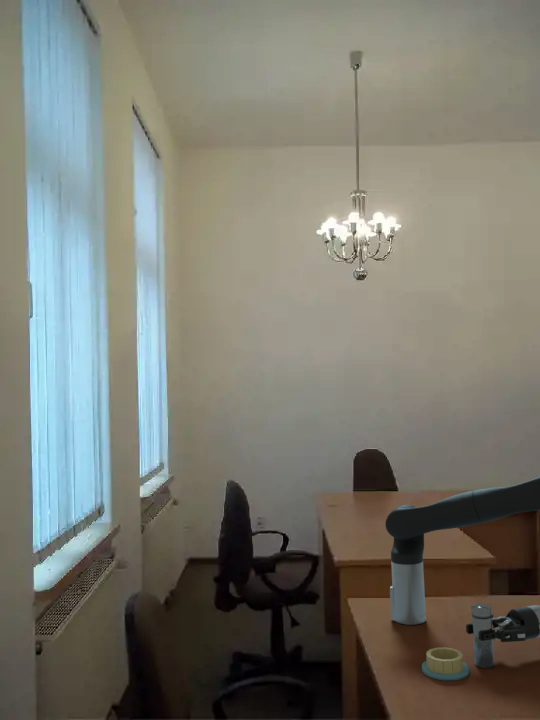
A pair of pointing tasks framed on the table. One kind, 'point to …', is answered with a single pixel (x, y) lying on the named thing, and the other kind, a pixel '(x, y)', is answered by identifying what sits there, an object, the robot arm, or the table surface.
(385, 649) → the table surface
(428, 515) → the robot arm
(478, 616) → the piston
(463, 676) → the ring collar
